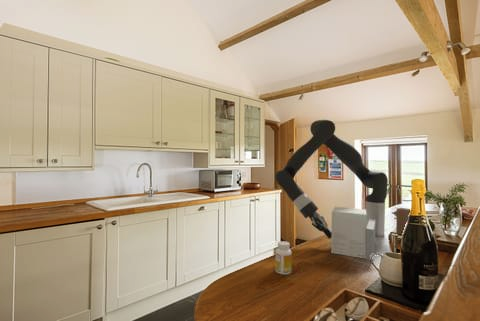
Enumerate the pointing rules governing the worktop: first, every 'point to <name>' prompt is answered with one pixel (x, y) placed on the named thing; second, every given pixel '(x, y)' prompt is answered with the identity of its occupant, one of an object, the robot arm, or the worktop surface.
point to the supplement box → (349, 232)
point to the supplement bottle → (283, 258)
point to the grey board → (370, 238)
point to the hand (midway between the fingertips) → (331, 237)
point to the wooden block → (401, 219)
